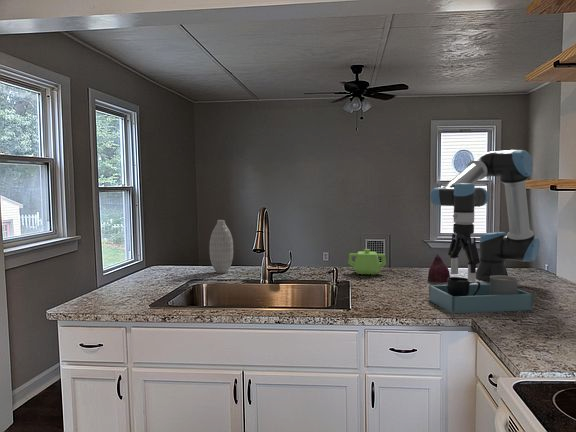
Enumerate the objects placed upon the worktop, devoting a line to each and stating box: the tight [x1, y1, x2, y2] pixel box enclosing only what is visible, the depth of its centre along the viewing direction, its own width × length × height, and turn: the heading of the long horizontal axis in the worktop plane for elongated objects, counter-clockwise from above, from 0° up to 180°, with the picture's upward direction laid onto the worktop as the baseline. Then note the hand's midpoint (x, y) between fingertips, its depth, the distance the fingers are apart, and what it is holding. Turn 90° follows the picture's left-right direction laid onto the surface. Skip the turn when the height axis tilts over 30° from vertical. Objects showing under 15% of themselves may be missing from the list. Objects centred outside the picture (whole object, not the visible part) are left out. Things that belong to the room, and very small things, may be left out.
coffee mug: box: [489, 275, 519, 295], centre depth 186 cm, size 13×10×10 cm
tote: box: [428, 283, 534, 314], centre depth 186 cm, size 32×20×6 cm, turn 97°
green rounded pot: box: [347, 248, 387, 276], centre depth 253 cm, size 18×20×13 cm
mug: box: [446, 276, 481, 296], centre depth 184 cm, size 8×12×10 cm
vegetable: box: [427, 253, 451, 284], centre depth 231 cm, size 10×10×15 cm
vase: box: [208, 219, 234, 274], centre depth 255 cm, size 13×13×28 cm
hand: (462, 277), depth 185 cm, fingers open, 13 cm apart
